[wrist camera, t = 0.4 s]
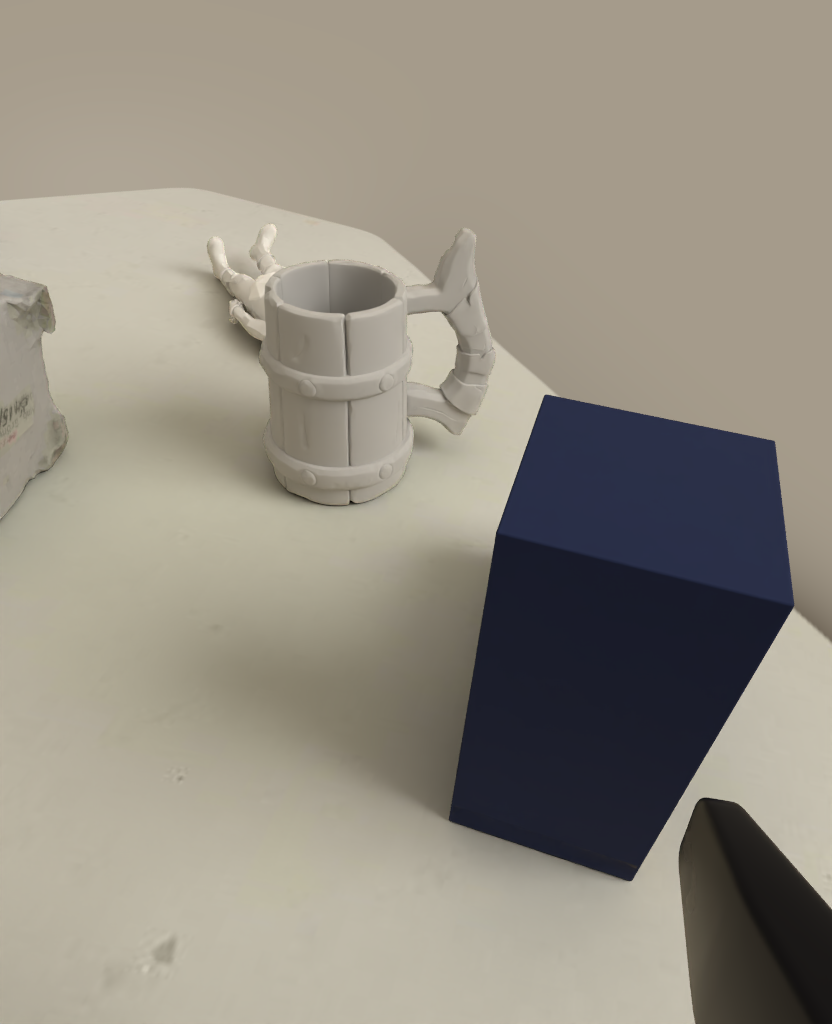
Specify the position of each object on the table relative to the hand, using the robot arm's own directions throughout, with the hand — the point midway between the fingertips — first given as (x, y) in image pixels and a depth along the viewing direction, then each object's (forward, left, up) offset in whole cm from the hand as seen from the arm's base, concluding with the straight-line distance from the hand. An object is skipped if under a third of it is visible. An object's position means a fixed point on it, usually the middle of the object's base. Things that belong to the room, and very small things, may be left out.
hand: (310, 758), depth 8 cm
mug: (+26, +2, -16) cm, 31 cm away
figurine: (+42, +11, -16) cm, 46 cm away
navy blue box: (+12, -7, -15) cm, 21 cm away
